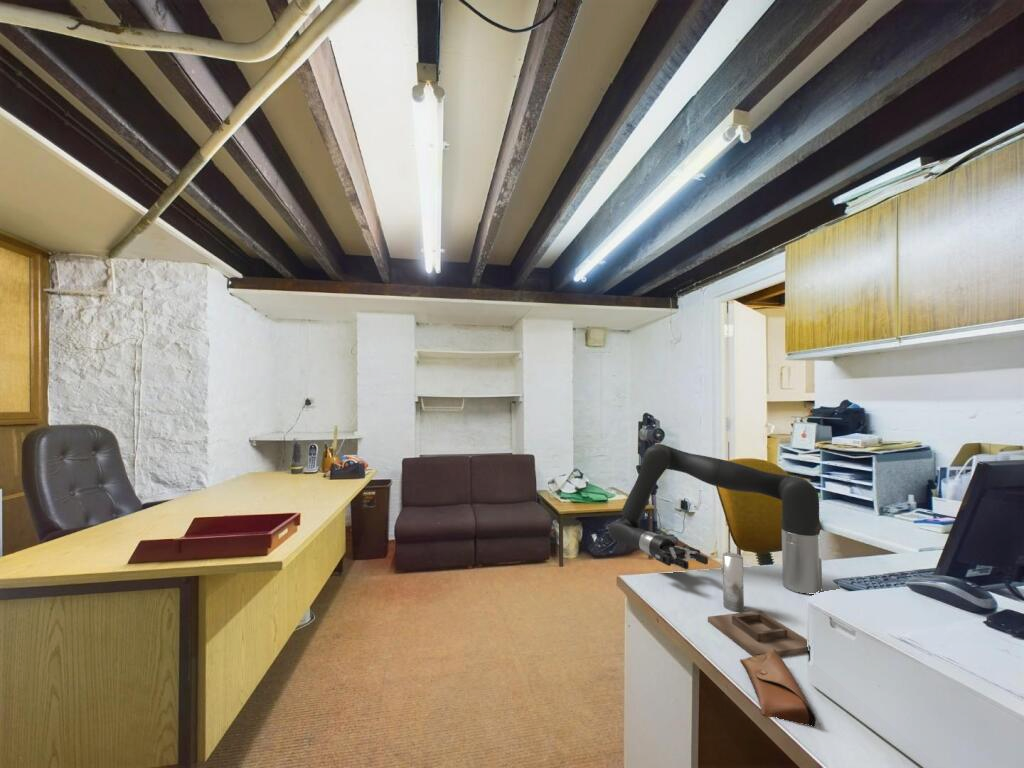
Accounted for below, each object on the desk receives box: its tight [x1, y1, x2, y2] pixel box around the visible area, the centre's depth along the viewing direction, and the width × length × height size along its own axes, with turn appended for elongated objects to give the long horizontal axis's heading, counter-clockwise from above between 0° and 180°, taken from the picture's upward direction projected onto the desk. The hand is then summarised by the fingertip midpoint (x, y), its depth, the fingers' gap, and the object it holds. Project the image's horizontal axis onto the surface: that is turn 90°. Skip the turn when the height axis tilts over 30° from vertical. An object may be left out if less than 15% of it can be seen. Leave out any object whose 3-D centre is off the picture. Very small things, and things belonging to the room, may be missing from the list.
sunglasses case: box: [739, 649, 817, 727], centre depth 80 cm, size 18×7×7 cm, turn 165°
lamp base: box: [707, 610, 808, 657], centre depth 99 cm, size 16×16×3 cm
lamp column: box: [722, 552, 745, 613], centre depth 113 cm, size 5×5×14 cm
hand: (697, 563), depth 123 cm, fingers open, 8 cm apart
